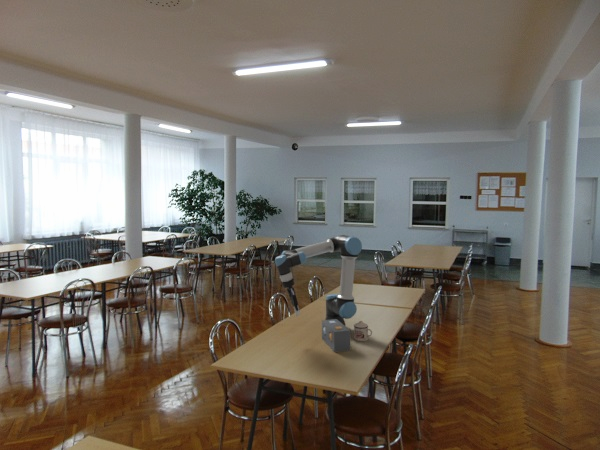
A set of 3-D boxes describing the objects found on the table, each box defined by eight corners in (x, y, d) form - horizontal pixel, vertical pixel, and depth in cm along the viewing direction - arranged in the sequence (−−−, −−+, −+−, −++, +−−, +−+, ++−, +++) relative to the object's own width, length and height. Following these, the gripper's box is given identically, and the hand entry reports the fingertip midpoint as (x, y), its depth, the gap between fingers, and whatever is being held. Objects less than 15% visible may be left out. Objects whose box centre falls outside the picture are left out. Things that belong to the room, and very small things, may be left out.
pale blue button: (328, 332, 264) (328, 325, 264) (331, 334, 260) (330, 327, 260) (323, 333, 263) (323, 326, 263) (325, 335, 259) (325, 328, 259)
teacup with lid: (351, 340, 264) (351, 321, 264) (357, 335, 272) (356, 318, 272) (369, 343, 258) (369, 324, 258) (374, 338, 266) (374, 320, 266)
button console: (336, 337, 270) (336, 318, 269) (350, 350, 247) (350, 329, 246) (321, 338, 267) (321, 319, 267) (334, 352, 244) (334, 331, 243)
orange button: (335, 338, 253) (335, 331, 252) (337, 341, 248) (337, 334, 248) (329, 339, 252) (329, 332, 252) (331, 341, 248) (331, 334, 247)
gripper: (279, 280, 264) (290, 314, 267) (284, 283, 252) (295, 319, 255) (290, 275, 266) (300, 310, 269) (295, 279, 253) (306, 315, 257)
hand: (298, 314), depth 262 cm, fingers closed
